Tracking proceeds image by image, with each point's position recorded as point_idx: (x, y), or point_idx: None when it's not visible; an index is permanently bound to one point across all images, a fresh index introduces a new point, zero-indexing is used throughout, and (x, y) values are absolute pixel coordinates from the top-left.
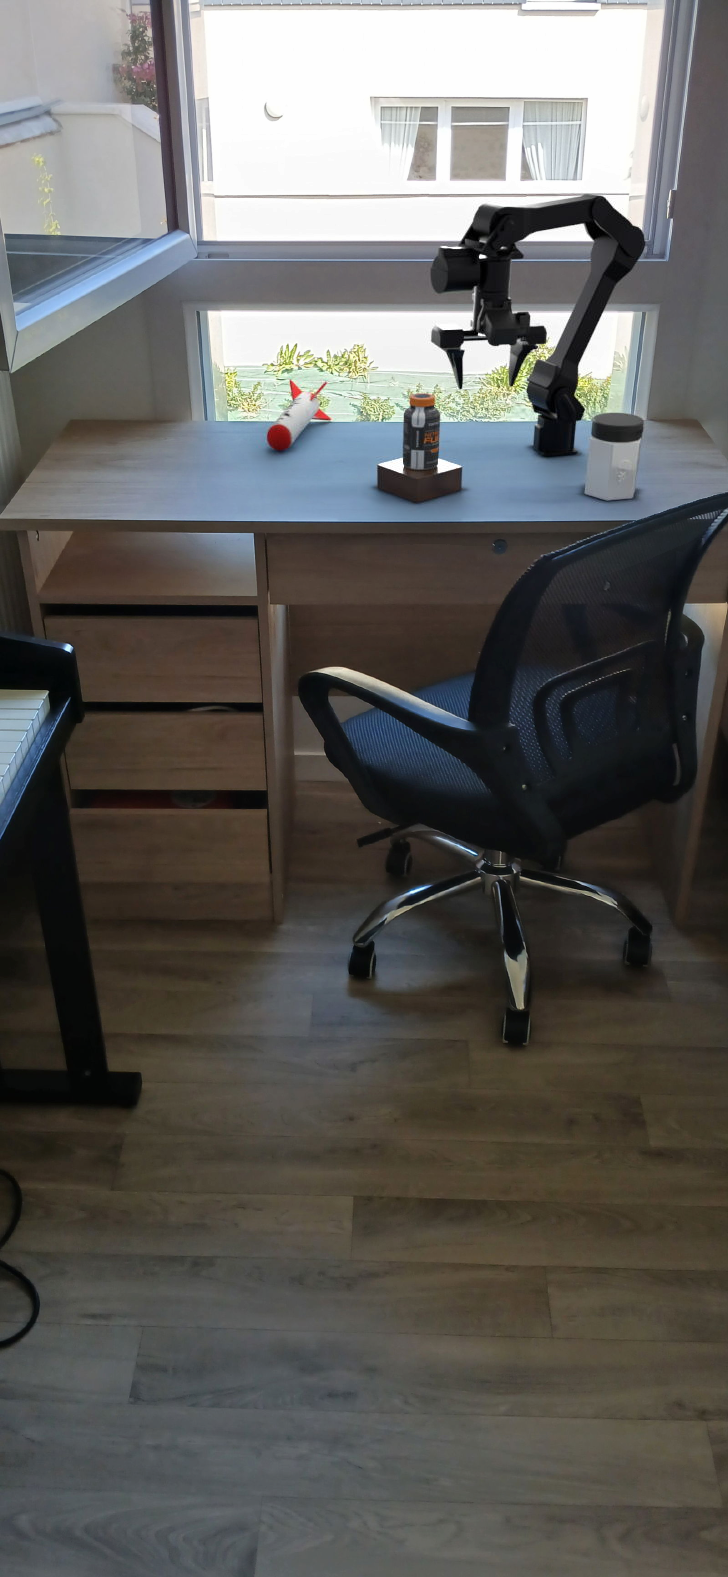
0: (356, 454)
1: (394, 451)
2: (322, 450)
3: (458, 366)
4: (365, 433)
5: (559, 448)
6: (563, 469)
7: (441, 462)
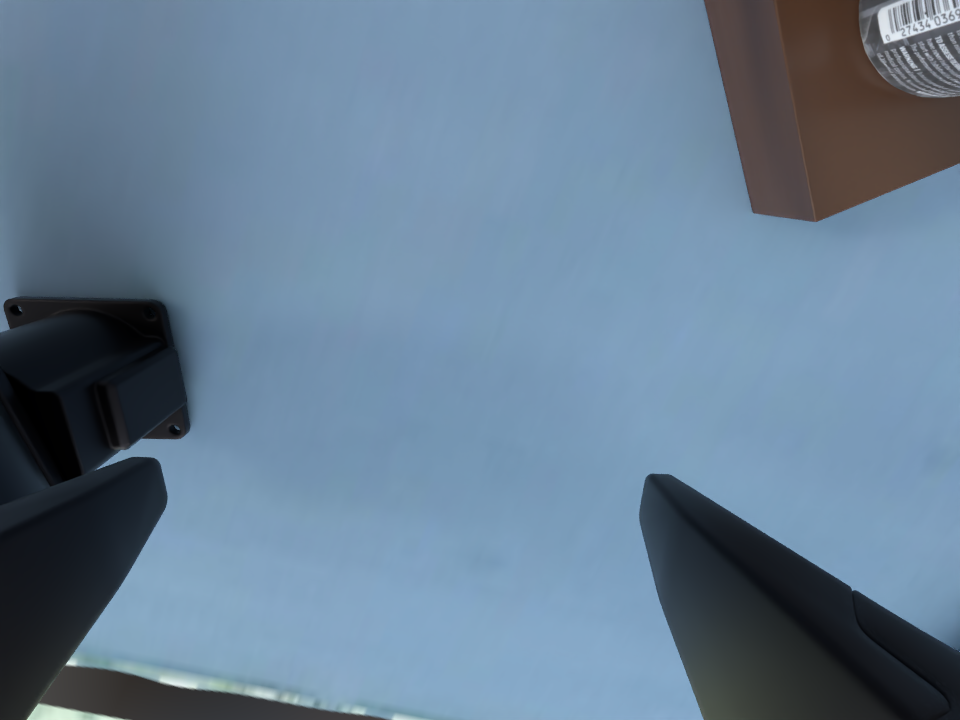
0: (840, 516)
1: None
2: (917, 578)
3: (883, 624)
4: None
5: (77, 312)
6: (112, 106)
7: (816, 5)
